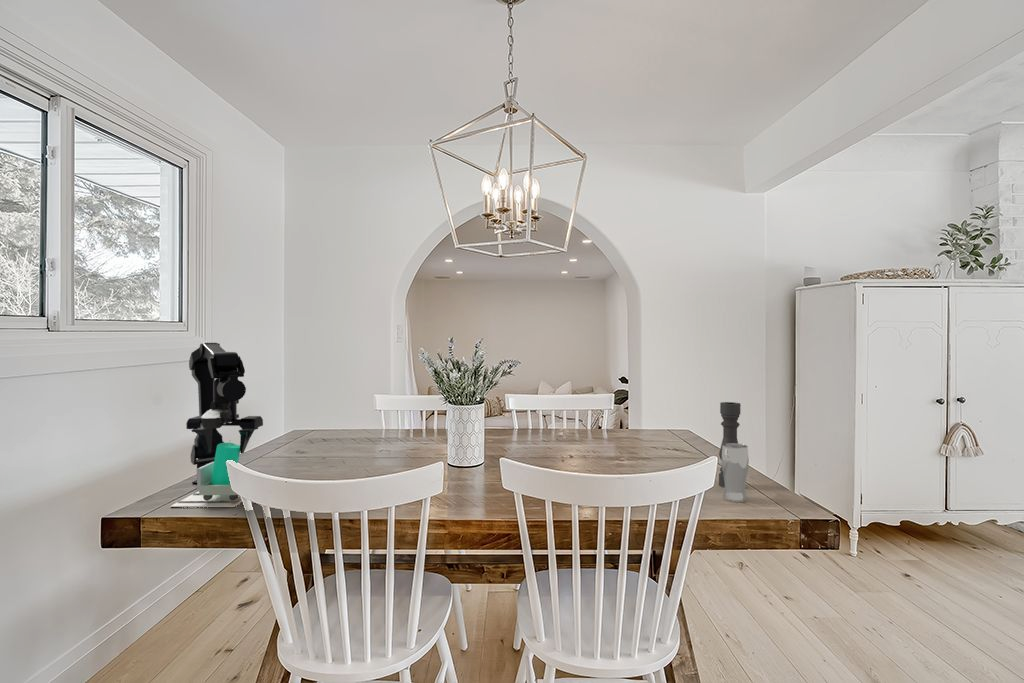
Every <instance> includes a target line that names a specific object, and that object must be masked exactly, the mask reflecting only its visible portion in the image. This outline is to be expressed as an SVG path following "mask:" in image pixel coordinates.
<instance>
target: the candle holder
mask: <svg viewBox="0 0 1024 683" xmlns="http://www.w3.org/2000/svg"><path fill="white" fill-rule="evenodd" d="M719 404H720V406H719V407H720V408H719V413H720V414H721V415H720V416H721V418H722V420H723V421H722V422H720V425H721V426H722V428H723V429H722V430H723V431H722V432H723V433H722V435H723V436H722V441H721V445H720V449H719V453H718V456H719V458H720V460H721V461H722V446H723V444H725V443H737V444H739V441H738V440H739V439H738V427H740V423H739V422H738V420H739V418H740V415H741V403H740V402H729V401H723V402H719ZM718 486H720V487H721V488H725V483H724V476H723V470H722V466H721V467H720V468H719V473H718Z"/></svg>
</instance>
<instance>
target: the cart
mask: <svg viewBox="0 0 1024 683" xmlns="http://www.w3.org/2000/svg"><path fill="white" fill-rule="evenodd" d="M213 465H214V462H211V463H209V464H206V465H204V466H202V467H200V468H197V467H196V480H197V484H196V492H199V495H204V496H203V498H204V500H206V501H208V500H210V499H212V497H213V495H230V496H229V498H230V500H232V501H234V500H236V499H237V498H238V495H237V494H236V493H234V492H233V491H232V489H231V485H214V484H212V483H211V476H212V471H213Z"/></svg>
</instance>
